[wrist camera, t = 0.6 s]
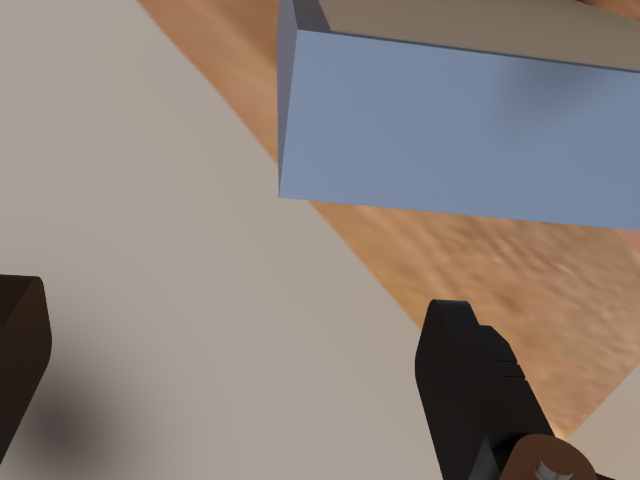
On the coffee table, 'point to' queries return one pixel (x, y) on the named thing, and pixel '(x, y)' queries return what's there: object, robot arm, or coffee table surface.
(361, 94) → the blue book
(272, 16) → the coffee table surface
